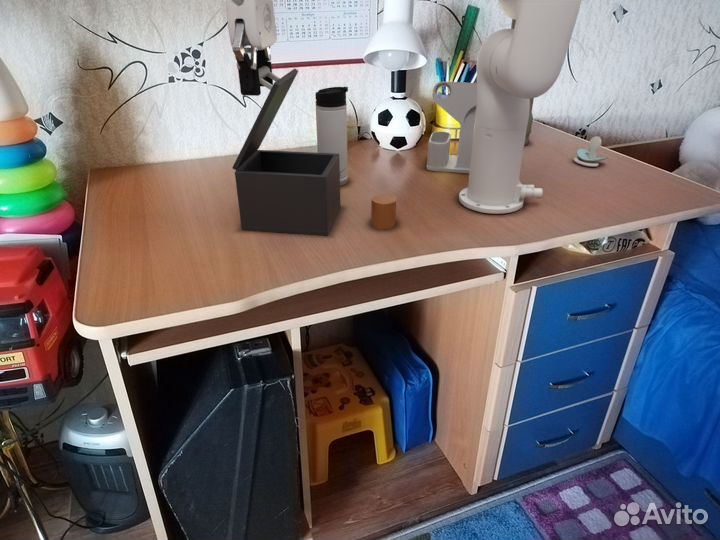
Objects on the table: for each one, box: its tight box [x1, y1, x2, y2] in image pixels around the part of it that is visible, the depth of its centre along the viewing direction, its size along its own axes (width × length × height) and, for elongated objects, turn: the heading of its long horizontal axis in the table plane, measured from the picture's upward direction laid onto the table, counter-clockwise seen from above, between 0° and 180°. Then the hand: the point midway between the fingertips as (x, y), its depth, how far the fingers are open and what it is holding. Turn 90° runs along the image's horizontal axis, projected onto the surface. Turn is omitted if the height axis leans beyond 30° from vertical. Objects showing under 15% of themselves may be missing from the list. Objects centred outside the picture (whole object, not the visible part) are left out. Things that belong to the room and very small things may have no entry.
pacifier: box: [573, 135, 609, 168], centre depth 126 cm, size 7×6×6 cm
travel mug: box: [315, 86, 349, 187], centre depth 112 cm, size 6×7×20 cm
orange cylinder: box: [370, 193, 397, 230], centre depth 98 cm, size 4×4×5 cm
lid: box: [232, 66, 299, 171], centre depth 92 cm, size 17×12×5 cm
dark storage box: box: [234, 149, 341, 237], centre depth 99 cm, size 16×12×11 cm
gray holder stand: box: [425, 81, 477, 174], centre depth 122 cm, size 17×10×18 cm, turn 76°
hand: (257, 89), depth 90 cm, fingers closed on lid, 6 cm apart
